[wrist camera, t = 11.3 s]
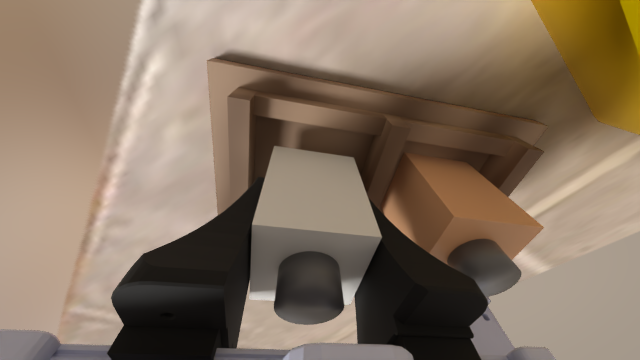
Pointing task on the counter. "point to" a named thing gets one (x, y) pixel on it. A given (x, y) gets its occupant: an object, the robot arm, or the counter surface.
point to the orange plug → (459, 219)
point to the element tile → (600, 54)
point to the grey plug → (311, 235)
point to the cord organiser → (352, 130)
